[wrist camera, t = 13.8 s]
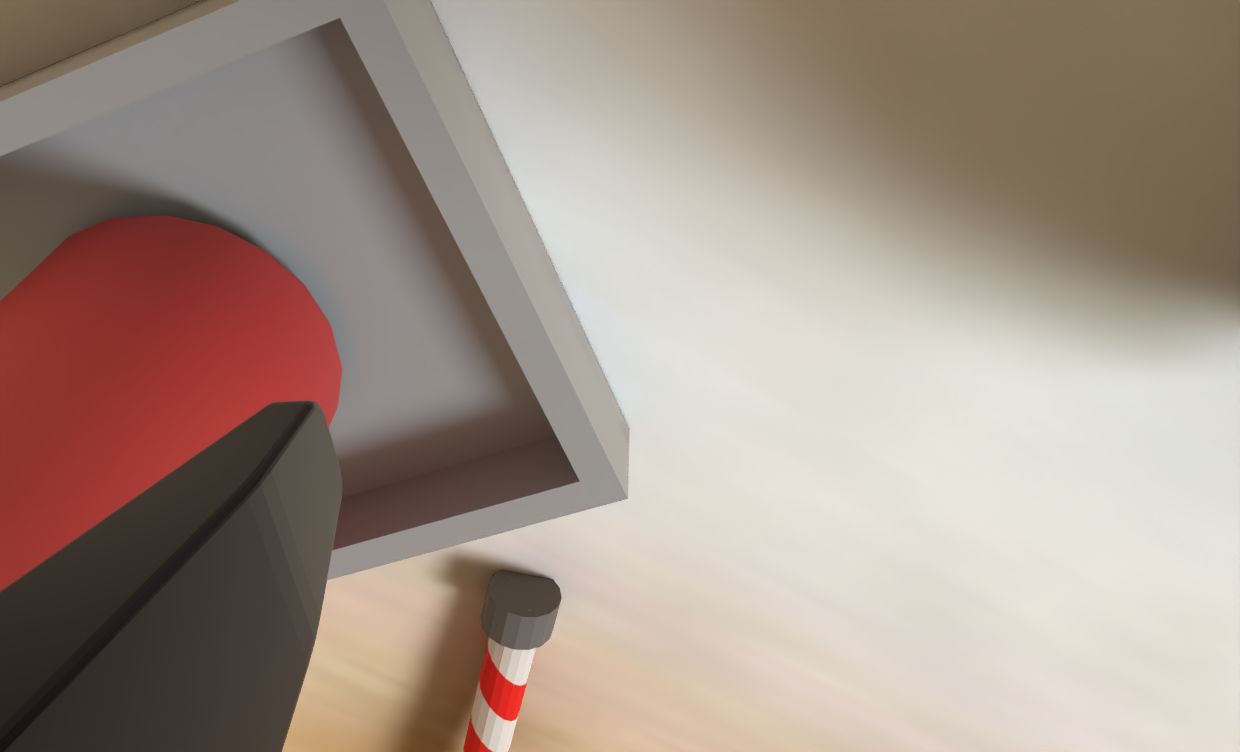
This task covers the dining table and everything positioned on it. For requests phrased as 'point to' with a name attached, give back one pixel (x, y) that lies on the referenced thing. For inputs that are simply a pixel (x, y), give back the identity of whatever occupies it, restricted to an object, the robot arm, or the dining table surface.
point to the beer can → (140, 369)
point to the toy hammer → (509, 654)
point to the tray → (344, 246)
